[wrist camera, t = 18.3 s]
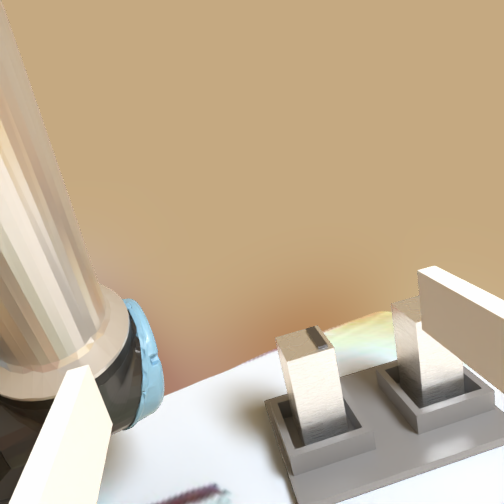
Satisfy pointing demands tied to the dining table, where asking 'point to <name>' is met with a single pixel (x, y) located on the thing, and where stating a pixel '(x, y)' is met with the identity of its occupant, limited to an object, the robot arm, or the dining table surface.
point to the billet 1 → (312, 384)
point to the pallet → (385, 436)
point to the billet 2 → (423, 359)
